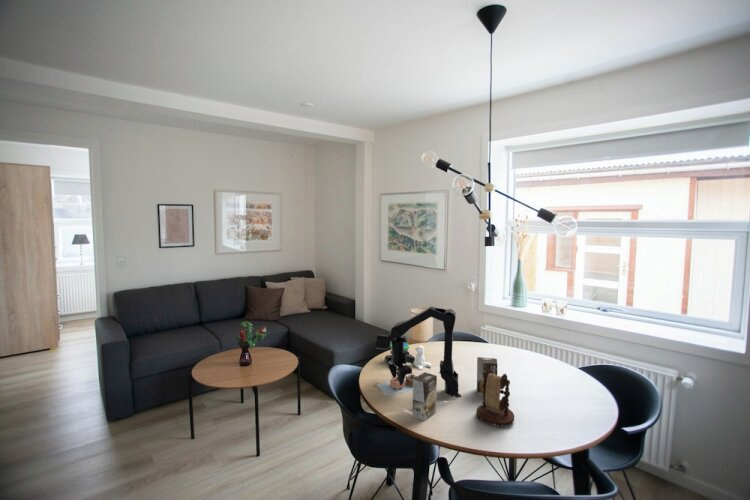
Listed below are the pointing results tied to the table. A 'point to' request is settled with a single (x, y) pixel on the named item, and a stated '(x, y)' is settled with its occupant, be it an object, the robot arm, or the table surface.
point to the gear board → (389, 390)
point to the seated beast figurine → (421, 359)
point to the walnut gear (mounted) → (410, 379)
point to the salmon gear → (396, 384)
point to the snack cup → (404, 346)
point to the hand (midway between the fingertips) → (397, 381)
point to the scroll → (495, 400)
